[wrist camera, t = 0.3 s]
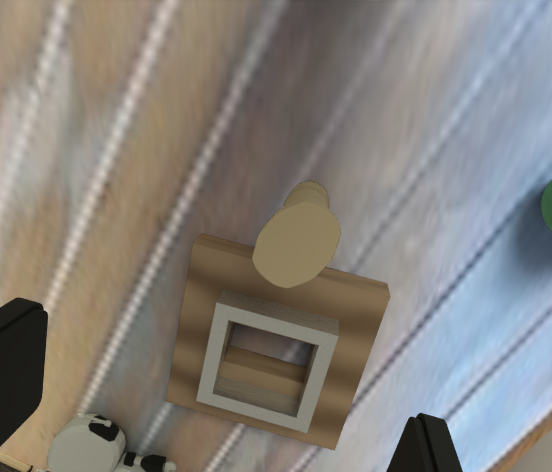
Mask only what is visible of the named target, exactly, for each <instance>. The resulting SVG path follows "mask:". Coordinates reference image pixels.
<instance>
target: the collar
mask: <svg viewBox="0 0 552 472" xmlns="http://www.w3.org/2000/svg"><path fill="white" fill-rule="evenodd" d="M232 321H234V322H238V323H241V324H245V325H248V326H252V327H255V328H259V329H263V330H266V331H270V332H273V333H277V334H280V335H284V336H288V337H291V338H295V339H298V340H302V341H306V342H309V343H313V344H316V345H315V348H314V351H313V355H312V358H311V361H310V364H309V368H308V371H307V374H306V378H305V381H304V384H303V387H302V391H301V394H300V397H299V398H296V397H292V396H289V395H285V394H282V393H278V392H275V391H271V390H268V389H264V388H261V387H257V386H254V385H250V384H247V383H243V382H240V381H236V380H233V379H230V378H226V377H223V376H220V373H221V368H222V364H223V359H224V355H225V350H226V346H227V342H228V337H229V333H230V328H231V324H232ZM338 337H339V320H335V319H332V318H328V317H324V316H321V315H317V314H313V313H310V312H306V311H303V310H299V309H295V308H292V307H288V306H284V305H281V304H277V303H274V302H270V301H266V300H263V299H259V298H255V297H252V296H248V295H244V294H241V293H237V292H234V291H230V290H226V289H224V290H223V292H222V294H221V295H220V297H219V299H218V301H217V302H216V307H215V312H214V317H213V321H212V326H211V331H210V336H209V341H208V346H207V351H206V356H205V360H204V365H203V370H202V375H201V380H200V385H199V390H198V394H197V399H196V401H198V402H202V403H205V404H208V405H212V406H215V407H219V408H222V409H226V410H229V411H232V412H236V413H239V414H243V415H246V416H250V417H253V418H256V419H260V420H263V421H267V422H270V423H274V424H277V425H280V426H284V427H287V428H291V429H294V430H298V431H301V432H304V433H307V432H308V429H309V426H310V422H311V419H312V416H313V413H314V410H315V407H316V404H317V401H318V398H319V395H320V392H321V389H322V386H323V383H324V380H325V377H326V374H327V370H328V367H329V364H330V361H331V358H332V355H333V352H334V349H335V346H336V343H337V340H338Z"/></svg>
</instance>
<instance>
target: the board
mask: <svg viewBox="0 0 552 472" xmlns="http://www.w3.org/2000/svg"><path fill="white" fill-rule="evenodd" d="M253 253H254V248H253V247H249V246H246V245H242V244H238V243H235V242H231V241H227V240H223V239H220V238H216V237H212V236H209V235H205V234H201V235H200V236H199V237H198V239H197V240H196V241H195V242H194V243H193V246H192V252H191V258H190V263H189V269H188V275H187V281H186V286H185V292H184V298H183V304H182V309H181V315H180V321H179V326H178V332H177V338H176V344H175V349H174V355H173V361H172V366H171V372H170V378H169V384H168V389H167V395H166V401H167V402H171V403H174V404H177V405H181V406H184V407H188V408H191V409H195V410H198V411H201V412H205V413H208V414H212V415H215V416H218V417H222V418H225V419H229V420H232V421H236V422H239V423H242V424H246V425H249V426H253V427H256V428H259V429H263V430H266V431H270V432H273V433H276V434H280V435H283V436H287V437H290V438H294V439H297V440H300V441H304V442H307V443H311V444H314V445H317V446H321V447H324V448H328V449H331V450H335V448H336V445H337V442H338V440H339V437H340V434H341V431H342V429H343V426H344V423H345V420H346V418H347V415H348V412H349V409H350V406H351V404H352V401H353V398H354V395H355V393H356V390H357V387H358V384H359V382H360V379H361V376H362V373H363V371H364V368H365V365H366V362H367V359H368V357H369V354H370V351H371V348H372V346H373V343H374V340H375V337H376V335H377V332H378V329H379V326H380V324H381V321H382V318H383V315H384V312H385V310H386V307H387V304H388V301H389V299H390V293H389V289H388V285H387V283H383V282H380V281H376V280H372V279H368V278H365V277H361V276H357V275H353V274H350V273H346V272H342V271H339V270H335V269H331V268H327V267H324V268H323V269H322V270H321V271H320V273H319V274H318V275H316V276H315V277H314V278H313V279H311V280H309V281H307V282H305V283H302V284H299V285H296V286H294V287H291V288H283V287H279V286H276V285H275V284H273V283H271V282H269V281H268V280H267V279H265V278H264V277H263V276H262V275H261V274H260V273H259V272H258V270H257V269H256V267H255V265H254V263H253V260H252V257H253ZM224 289H226V290H230V291H234V292H237V293H241V294H244V295H248V296H252V297H255V298H259V299H263V300H266V301H270V302H274V303H277V304H281V305H284V306H288V307H292V308H295V309H299V310H303V311H306V312H310V313H313V314H317V315H321V316H324V317H328V318H332V319H335V320H339V337H338V340H337V343H336V346H335V349H334V352H333V355H332V358H331V361H330V364H329V367H328V370H327V374H326V377H325V380H324V383H323V386H322V389H321V392H320V395H319V398H318V401H317V404H316V407H315V410H314V413H313V416H312V419H311V422H310V426H309V429H308V432H307V433H304V432H301V431H298V430H294V429H291V428H287V427H284V426H280V425H277V424H274V423H270V422H267V421H263V420H260V419H256V418H253V417H250V416H246V415H243V414H239V413H236V412H232V411H229V410H226V409H222V408H219V407H215V406H212V405H208V404H205V403H202V402H198V401H196V399H197V394H198V390H199V385H200V380H201V375H202V370H203V365H204V360H205V356H206V351H207V346H208V341H209V336H210V331H211V326H212V321H213V317H214V312H215V307H216V302H217V301H218V299H219V297H220V295H221V294H222V292H223V290H224ZM235 323H238V322H234V321H232V324H231V328H230V333H229V337H228V342H227V346H226V350H225V355H224V359H223V364H222V368H221V373H220V376H223V377H226V378H230V379H233V380H236V381H240V382H243V383H247V384H250V385H254V386H257V387H261V388H264V389H268V390H271V391H275V392H278V393H282V394H285V395H289V396H292V397H296V398H299V397H300V394H301V391H302V387H303V384H304V381H305V378H306V374H307V371H308V368H309V364H310V361H311V358H312V355H313V351H314V348H315V345H316V344H313V343H309V342H306V341H302V340H298V339H295V338H291V337H288V336H284V335H281V336H284V337H288V338H291V339H295V340H298V341H302V342H306V343H309V344H313V345H312V348H311V351H310V355H309V358H308V361H307V364H306V367H304V366H300V365H297V364H293V363H289V362H286V361H282V360H279V359H275V358H272V357H268V356H265V355H261V354H258V353H254V352H251V351H247V350H244V349H240V348H236V347H233V346H230V342H231V338H232V334H233V329H234V325H235ZM238 324H241V323H238ZM241 325H245V324H241ZM245 326H248V325H245ZM248 327H252V326H248ZM252 328H255V327H252ZM255 329H259V328H255ZM259 330H263V329H259ZM263 331H266V330H263ZM266 332H270V331H266ZM270 333H273V332H270ZM273 334H277V333H273ZM277 335H280V334H277Z"/></svg>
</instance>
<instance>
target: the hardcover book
mask: <svg viewBox="0 0 552 472" xmlns="http://www.w3.org/2000/svg"><path fill="white" fill-rule="evenodd" d="M32 467H33V466H29V465H27V464H25V463H23V462H21V461H19V460H17V459H15V458H12V457H10V456H8V455H6V454H4V453H2V452H0V472H31V470H32Z"/></svg>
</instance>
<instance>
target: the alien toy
mask: <svg viewBox="0 0 552 472" xmlns="http://www.w3.org/2000/svg"><path fill="white" fill-rule="evenodd" d="M541 211H542V215H543V219H544V221H545V223H546V224H547V226H548V227H549V229H550V230H551V231H552V180H551V181H550V182H549V184H548V186H547V187H546V189H545V190H544V193H543V196H542V199H541Z"/></svg>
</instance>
